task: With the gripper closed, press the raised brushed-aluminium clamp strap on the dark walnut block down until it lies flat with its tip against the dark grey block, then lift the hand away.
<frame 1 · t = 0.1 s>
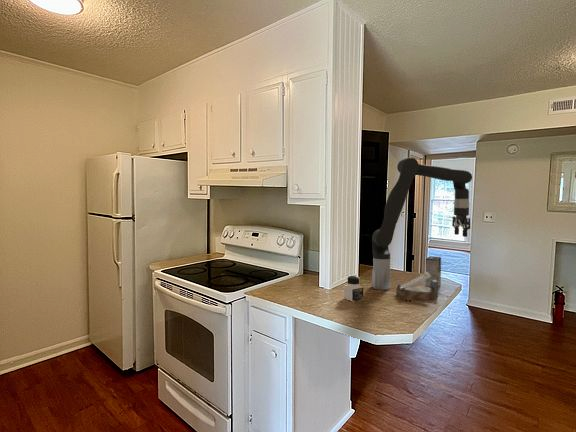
hand: (460, 235, 183), 29 cm above the worktop, fingers open, 8 cm apart
walnut block: (415, 296, 168), on the worktop
coffee box: (433, 285, 188), on the worktop
medicine bottle: (353, 299, 166), on the worktop
dark grey block: (434, 296, 168), on the worktop
clamp strap: (414, 281, 167), point 8 cm above the worktop, hinge at 25.0°
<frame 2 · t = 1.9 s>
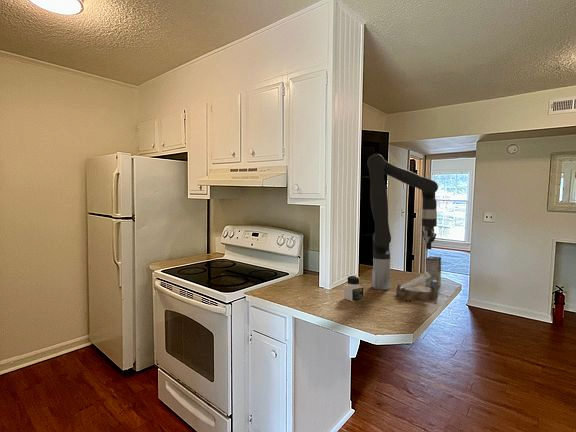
hand: (428, 249, 177), 23 cm above the worktop, fingers closed
nothing on the worktop moved.
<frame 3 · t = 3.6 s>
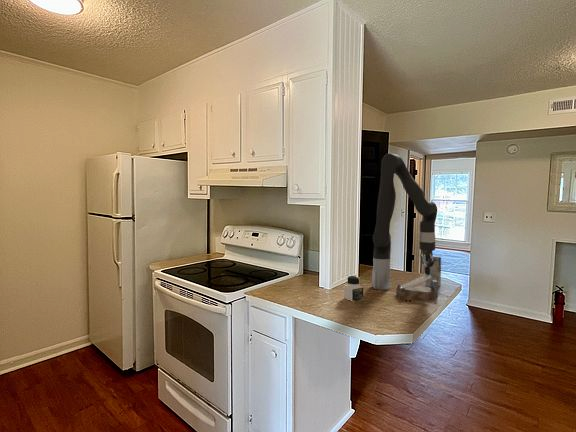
hand: (427, 273, 167), 12 cm above the worktop, fingers closed
clamp strap: (414, 281, 167), point 8 cm above the worktop, hinge at 22.8°, touching gripper
everything else where it was.
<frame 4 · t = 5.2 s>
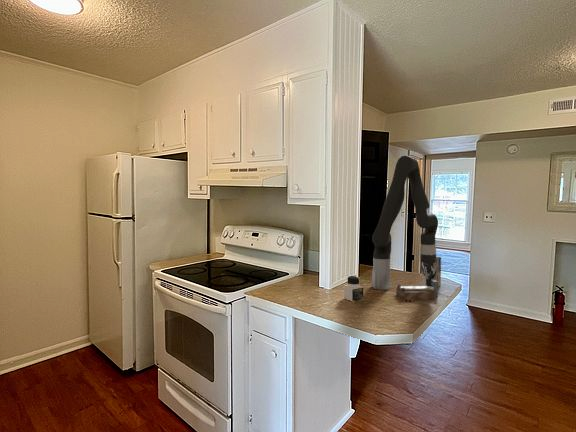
hand: (428, 285, 167), 6 cm above the worktop, fingers closed
clamp strap: (415, 287, 168), point 5 cm above the worktop, hinge at -1.1°, touching gripper, walnut block
everything else where it was.
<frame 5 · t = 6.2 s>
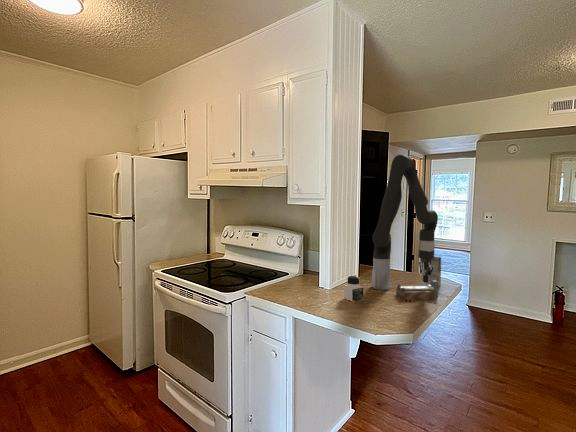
hand: (425, 282, 167), 8 cm above the worktop, fingers closed
clamp strap: (415, 287, 168), point 5 cm above the worktop, hinge at -1.1°, touching walnut block
everything else where it was.
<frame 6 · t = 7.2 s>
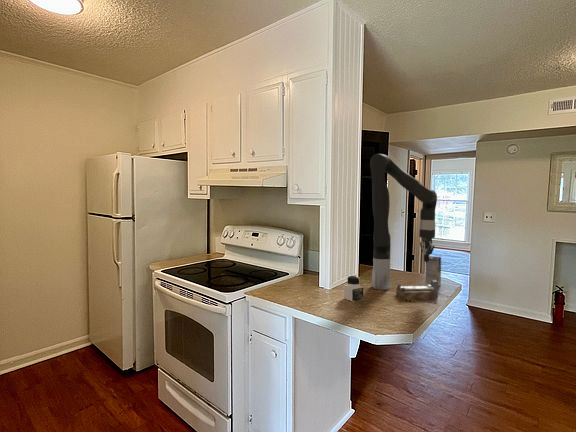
hand: (426, 261, 168), 18 cm above the worktop, fingers closed
nothing on the worktop moved.
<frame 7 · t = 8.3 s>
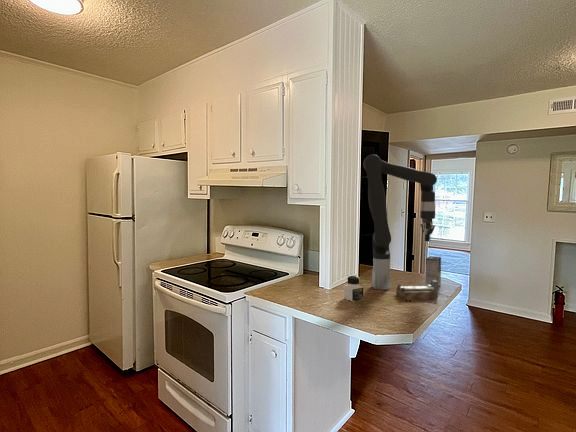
hand: (427, 241, 179), 27 cm above the worktop, fingers closed
nothing on the worktop moved.
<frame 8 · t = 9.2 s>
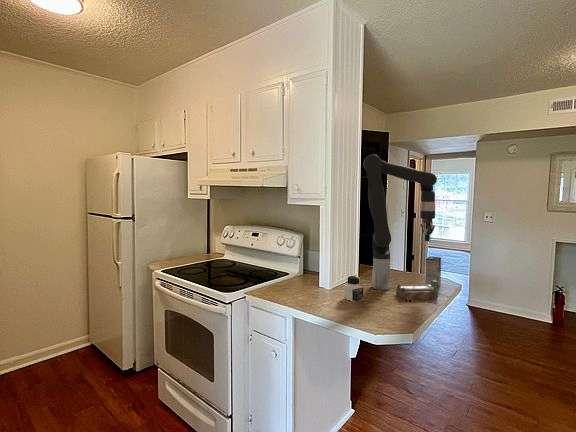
hand: (427, 241, 179), 27 cm above the worktop, fingers closed
nothing on the worktop moved.
at the end: clamp strap at -1° (first picture: +25°); coffee box moved 0.2 cm from its start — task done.
